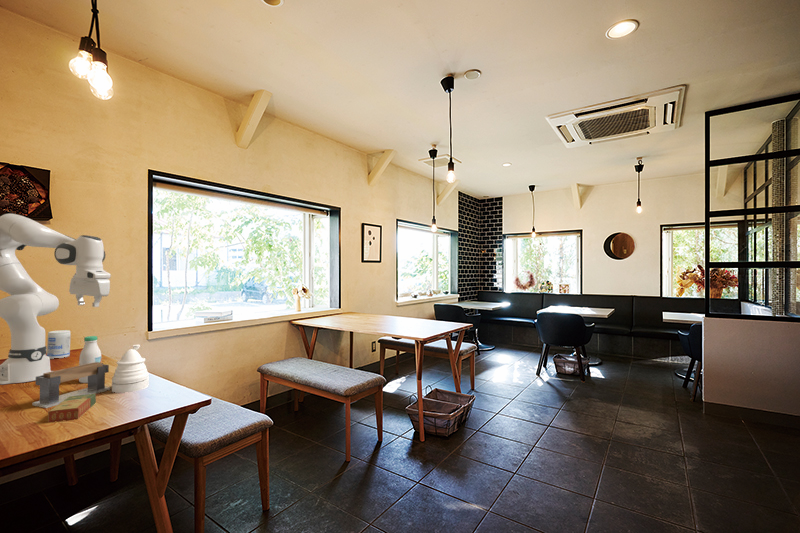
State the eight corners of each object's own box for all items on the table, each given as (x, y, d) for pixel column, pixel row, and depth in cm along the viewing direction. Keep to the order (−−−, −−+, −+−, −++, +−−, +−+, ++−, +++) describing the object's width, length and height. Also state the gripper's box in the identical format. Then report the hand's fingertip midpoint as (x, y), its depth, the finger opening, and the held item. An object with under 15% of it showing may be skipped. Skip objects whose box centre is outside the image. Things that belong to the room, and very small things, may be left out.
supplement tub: (45, 360, 201) (45, 333, 201) (48, 356, 209) (49, 330, 209) (68, 357, 207) (69, 331, 207) (71, 354, 214) (71, 329, 215)
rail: (43, 384, 138) (43, 373, 138) (95, 371, 155) (96, 362, 155) (50, 385, 137) (50, 374, 137) (102, 372, 154) (102, 362, 154)
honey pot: (139, 381, 166) (140, 341, 167) (154, 386, 160) (155, 345, 160) (105, 389, 155) (106, 347, 155) (120, 395, 149) (121, 350, 149)
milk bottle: (88, 384, 162) (89, 338, 162) (74, 382, 164) (75, 337, 164) (105, 378, 170) (106, 335, 170) (91, 377, 171) (92, 334, 171)
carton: (47, 423, 122) (47, 410, 122) (68, 407, 137) (68, 395, 137) (78, 419, 125) (78, 407, 125) (96, 403, 140) (96, 392, 140)
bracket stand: (32, 405, 137) (32, 377, 137) (97, 387, 158) (97, 362, 158) (46, 408, 134) (46, 379, 134) (110, 389, 155) (110, 364, 155)
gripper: (65, 272, 157) (63, 305, 157) (97, 274, 151) (95, 308, 150) (82, 272, 163) (80, 303, 163) (113, 274, 157) (112, 307, 156)
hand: (88, 306), depth 157 cm, fingers open, 8 cm apart
